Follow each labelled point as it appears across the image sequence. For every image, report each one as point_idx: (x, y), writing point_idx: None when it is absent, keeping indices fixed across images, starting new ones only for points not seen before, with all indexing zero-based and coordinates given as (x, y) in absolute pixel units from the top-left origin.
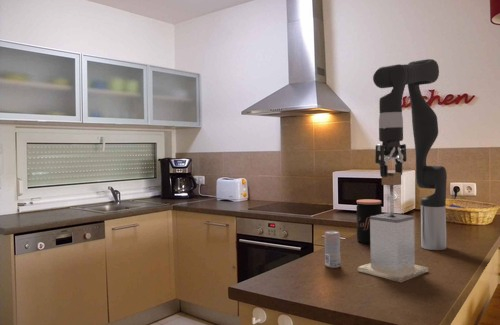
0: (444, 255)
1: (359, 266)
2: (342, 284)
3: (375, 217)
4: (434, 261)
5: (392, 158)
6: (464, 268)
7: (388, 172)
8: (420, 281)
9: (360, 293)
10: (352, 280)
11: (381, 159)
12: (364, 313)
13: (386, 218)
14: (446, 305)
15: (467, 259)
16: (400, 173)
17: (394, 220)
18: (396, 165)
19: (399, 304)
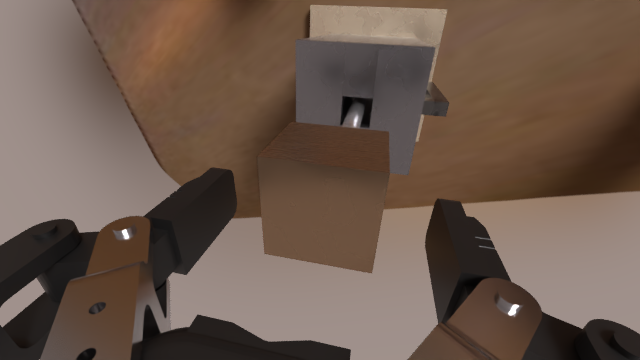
0: (631, 108)
1: (315, 6)
2: (215, 43)
3: (296, 69)
4: (531, 113)
5: (437, 328)
6: (494, 185)
7: (322, 192)
8: None
9: (208, 101)
10: (249, 43)
11: (39, 307)
12: (161, 148)
13: (297, 120)
14: None
15: (599, 169)
16: (363, 265)
17: None
18: (453, 272)
19: (222, 168)
